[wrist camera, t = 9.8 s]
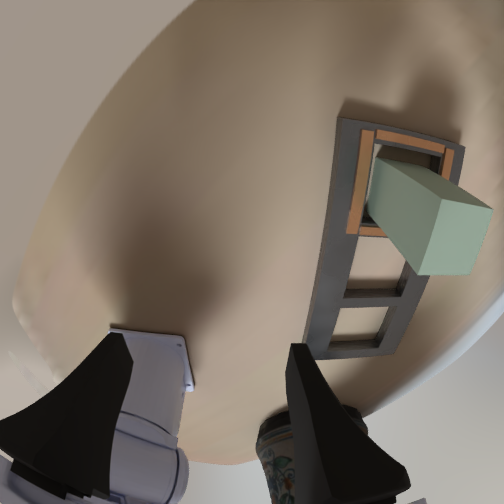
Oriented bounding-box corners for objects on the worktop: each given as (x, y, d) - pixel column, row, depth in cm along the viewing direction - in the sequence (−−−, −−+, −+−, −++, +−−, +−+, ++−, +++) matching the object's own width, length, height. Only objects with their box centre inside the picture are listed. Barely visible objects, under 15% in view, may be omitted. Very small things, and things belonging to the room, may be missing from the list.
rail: (389, 345, 27) (393, 355, 25) (299, 351, 27) (301, 362, 25) (456, 143, 16) (467, 147, 15) (337, 116, 16) (343, 118, 15)
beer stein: (284, 451, 42) (289, 569, 20) (222, 414, 34) (212, 584, 12) (372, 425, 38) (396, 552, 16) (342, 378, 29) (376, 580, 8)
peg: (410, 215, 19) (469, 275, 12) (365, 211, 19) (417, 275, 12) (422, 165, 17) (493, 209, 10) (375, 156, 17) (442, 198, 10)
